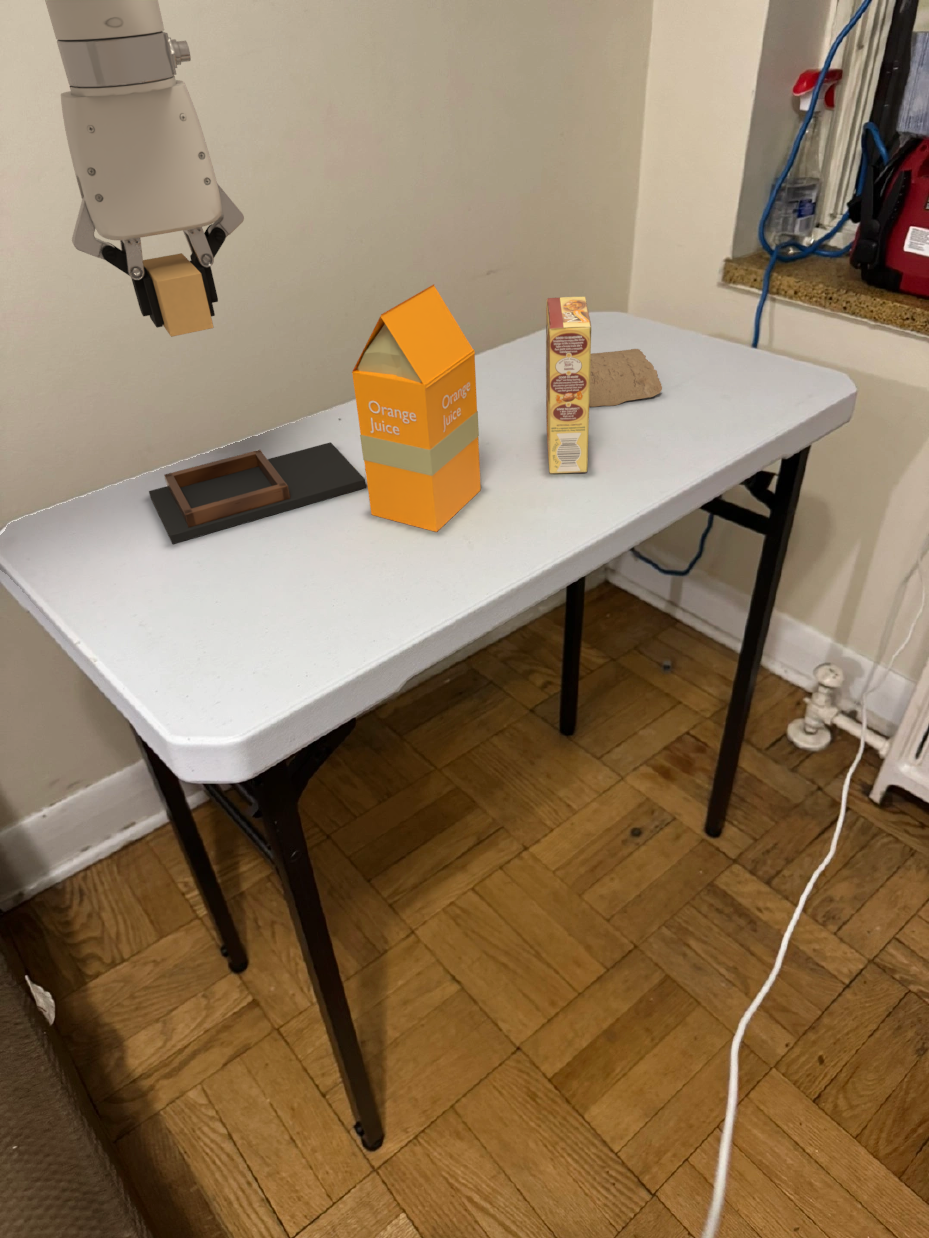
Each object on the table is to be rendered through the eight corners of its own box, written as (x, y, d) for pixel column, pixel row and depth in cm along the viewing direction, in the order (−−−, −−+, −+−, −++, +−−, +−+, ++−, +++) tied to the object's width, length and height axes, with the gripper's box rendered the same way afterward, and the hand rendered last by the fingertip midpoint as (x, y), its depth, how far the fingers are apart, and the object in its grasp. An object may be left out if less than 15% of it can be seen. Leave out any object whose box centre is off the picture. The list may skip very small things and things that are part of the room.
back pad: (172, 544, 82) (165, 522, 81) (150, 499, 89) (144, 477, 88) (366, 487, 89) (363, 466, 87) (332, 450, 96) (328, 429, 95)
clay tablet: (665, 397, 102) (667, 375, 101) (582, 407, 101) (583, 385, 100) (625, 353, 114) (626, 333, 112) (551, 362, 113) (551, 342, 111)
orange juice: (482, 490, 87) (473, 288, 75) (437, 532, 82) (420, 321, 69) (416, 474, 91) (398, 278, 78) (369, 514, 85) (340, 309, 72)
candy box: (588, 474, 89) (594, 326, 79) (547, 475, 89) (548, 327, 80) (582, 435, 96) (587, 294, 86) (544, 436, 96) (545, 296, 87)
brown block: (171, 337, 71) (156, 281, 69) (154, 313, 76) (140, 260, 74) (214, 328, 73) (201, 273, 70) (194, 305, 78) (182, 253, 75)
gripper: (218, 51, 69) (263, 287, 80) (-6, 74, 63) (76, 324, 74) (243, 58, 63) (288, 310, 74) (1, 84, 58) (89, 352, 69)
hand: (182, 315), depth 74 cm, fingers closed on brown block, 3 cm apart
